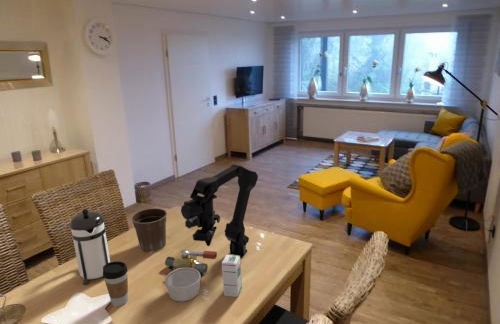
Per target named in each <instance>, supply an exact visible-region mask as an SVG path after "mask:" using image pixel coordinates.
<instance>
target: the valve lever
mask: <svg viewBox="0 0 500 324" xmlns="http://www.w3.org/2000/svg"><path fill="white" fill-rule="evenodd" d="M180 252H181V255H182V257H188V256H197V257H198V258H199V257H202V258H203V259H208V260H216V259H217V256H218V253H217V251H215V250H213V251H212V250H204V251H193V250H189V249H185V248H184V249H182V250H181V251H180Z"/></svg>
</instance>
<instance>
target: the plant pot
mask: <svg viewBox="0 0 500 324" xmlns="http://www.w3.org/2000/svg"><path fill="white" fill-rule="evenodd" d="M167 215H168V212H167V211H166V209H162V208H157V207H156V208H152V207H151V208H146V209H145V208H144V209H142V210H138V211H136V212H135V213H134V214H132V216H131V217H130V219H131V222H132V223H133V227H134V229H135V233H136V237H137V241H138V245H139V249H140V250H141V251H142V252H145V253H151V252H157V251H160V250H161V249H163V248H165V247H166V244H167V233H166V231H167V228H166V227H167V226H166V223H167Z"/></svg>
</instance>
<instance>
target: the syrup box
mask: <svg viewBox="0 0 500 324" xmlns="http://www.w3.org/2000/svg"><path fill="white" fill-rule="evenodd" d="M241 268H242V267H241V258H240V256H238V255H229V254H225V256H224V257H223V260H222V261H221V272H222V284H223V285H222V287H223V295H224V297H225V296H226V297H233V298H239V296H240V294H241V291H242V288H243V287H242V285H243V283H242V270H241Z"/></svg>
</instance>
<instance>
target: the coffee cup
mask: <svg viewBox="0 0 500 324" xmlns="http://www.w3.org/2000/svg"><path fill="white" fill-rule="evenodd" d="M128 269H129V268H128V267H127V264H126V263H125V261H119V260H117V261H116V260H115V261H110V262H109V263H107V264H106V265H104V266H103V276H102V277H103V278H104V282H105V286H106V289H107V292H108V295H109V299H110V304H111V305H112V306H113V307H121V306H124V305H126V304H127V303H128V301H129V293H128V292H129V285H128V284H129V282H128Z"/></svg>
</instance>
